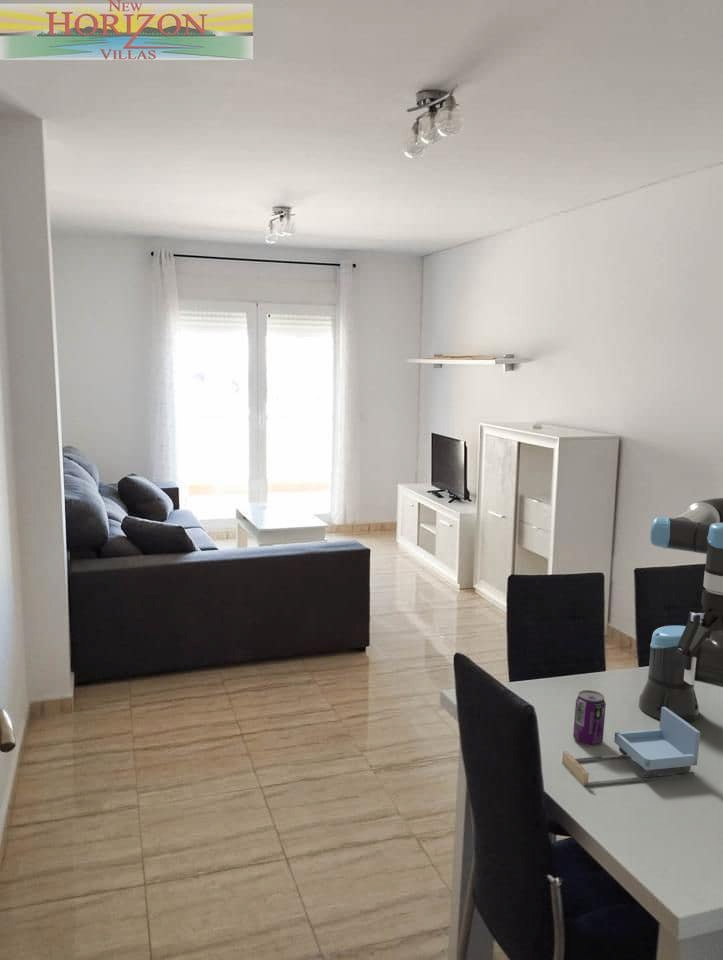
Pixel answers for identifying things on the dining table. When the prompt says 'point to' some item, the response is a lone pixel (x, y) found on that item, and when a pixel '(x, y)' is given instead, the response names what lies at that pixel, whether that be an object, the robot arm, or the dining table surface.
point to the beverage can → (589, 717)
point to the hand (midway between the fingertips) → (711, 681)
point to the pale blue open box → (662, 744)
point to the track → (583, 779)
